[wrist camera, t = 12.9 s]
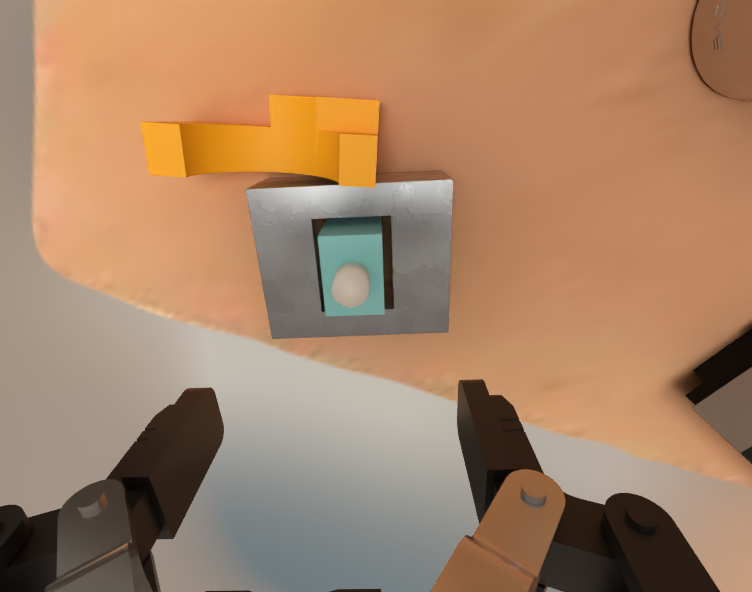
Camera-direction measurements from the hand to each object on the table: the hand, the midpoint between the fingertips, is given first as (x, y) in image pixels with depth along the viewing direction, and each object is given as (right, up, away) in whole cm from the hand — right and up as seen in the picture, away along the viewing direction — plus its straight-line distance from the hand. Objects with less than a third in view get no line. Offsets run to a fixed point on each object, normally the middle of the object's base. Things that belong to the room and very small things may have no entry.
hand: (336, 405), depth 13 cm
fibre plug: (0, +7, +16) cm, 18 cm away
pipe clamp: (-5, +14, +13) cm, 20 cm away
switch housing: (0, +7, +16) cm, 18 cm away
